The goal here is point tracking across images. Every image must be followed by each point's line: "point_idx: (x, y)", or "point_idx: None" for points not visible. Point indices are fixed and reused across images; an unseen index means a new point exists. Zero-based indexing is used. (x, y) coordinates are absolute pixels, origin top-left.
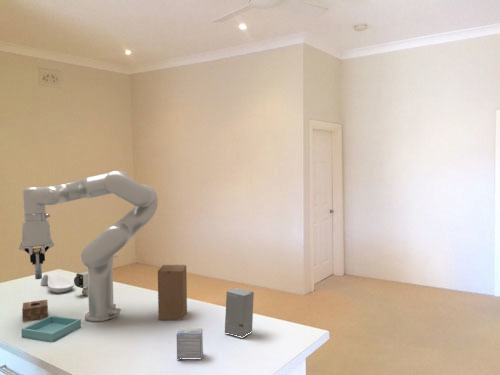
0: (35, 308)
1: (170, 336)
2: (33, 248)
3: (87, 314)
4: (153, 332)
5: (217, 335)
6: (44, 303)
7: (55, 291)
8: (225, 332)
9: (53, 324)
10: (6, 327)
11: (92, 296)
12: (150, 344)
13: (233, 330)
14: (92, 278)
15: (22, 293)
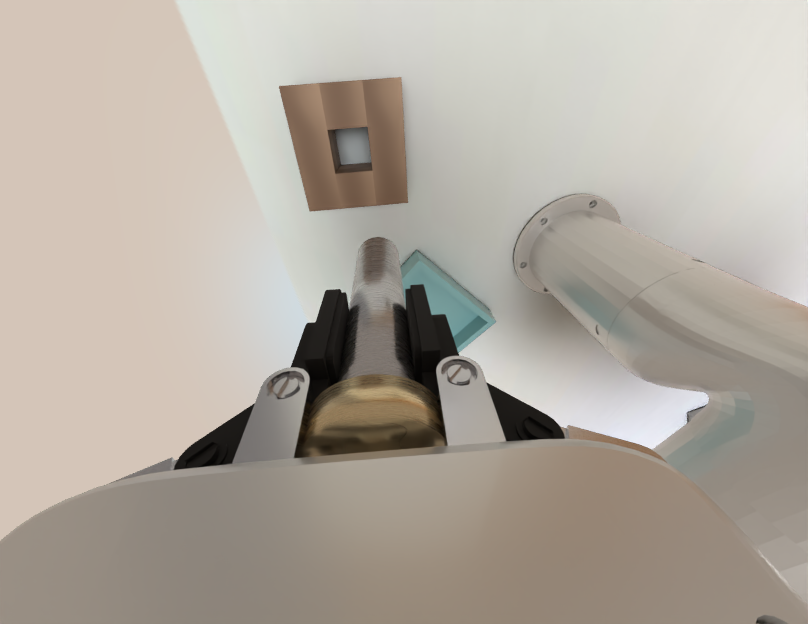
0: (360, 206)
1: (617, 398)
2: (317, 455)
3: (528, 244)
4: (605, 377)
5: (675, 411)
6: (392, 156)
7: None
8: (690, 416)
9: (423, 278)
10: (277, 233)
11: (571, 313)
12: (572, 413)
13: None
14: (622, 364)
15: None
